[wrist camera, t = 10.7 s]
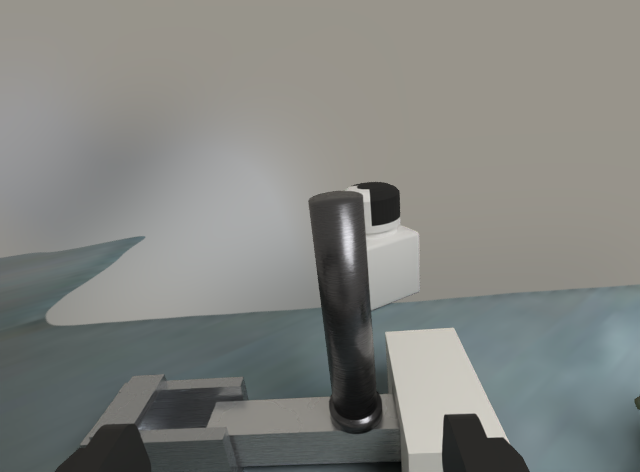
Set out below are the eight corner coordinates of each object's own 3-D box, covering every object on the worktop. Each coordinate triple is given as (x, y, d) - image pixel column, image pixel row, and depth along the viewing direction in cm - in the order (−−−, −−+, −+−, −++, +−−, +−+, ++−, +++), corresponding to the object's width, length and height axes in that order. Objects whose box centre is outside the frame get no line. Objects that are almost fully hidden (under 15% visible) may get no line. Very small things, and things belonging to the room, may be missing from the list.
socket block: (411, 531, 21) (408, 453, 18) (388, 394, 30) (385, 332, 28) (504, 530, 20) (513, 450, 18) (452, 391, 29) (453, 327, 27)
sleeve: (103, 496, 24) (76, 437, 23) (142, 429, 29) (122, 376, 27) (237, 493, 24) (220, 432, 22) (254, 424, 29) (241, 370, 27)
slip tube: (210, 471, 24) (136, 225, 18) (225, 428, 28) (166, 205, 21) (454, 463, 23) (462, 196, 17) (440, 418, 26) (442, 179, 20)
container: (382, 269, 50) (377, 174, 46) (421, 292, 44) (420, 184, 39) (332, 286, 48) (322, 187, 43) (366, 314, 41) (357, 200, 36)
